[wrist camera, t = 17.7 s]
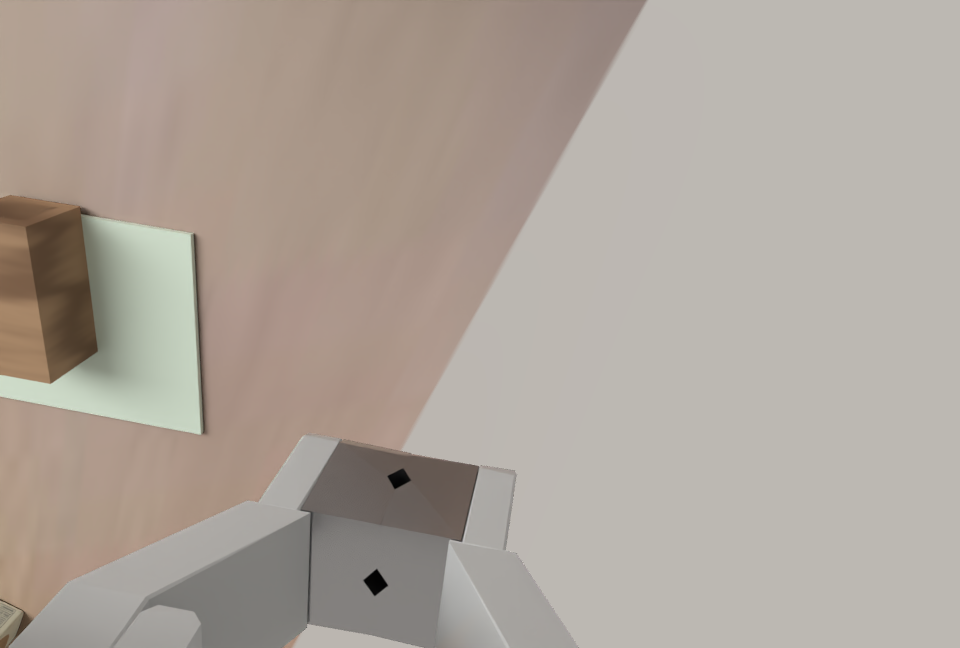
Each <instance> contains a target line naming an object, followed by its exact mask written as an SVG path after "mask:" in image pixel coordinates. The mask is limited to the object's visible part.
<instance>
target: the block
mask: <svg viewBox="0 0 960 648" xmlns="http://www.w3.org/2000/svg"><path fill="white" fill-rule="evenodd" d="M96 352H98V348H97V340H96V332H95V324H94V316H93V308H92V300H91V292H90V284H89V275H88V267H87V259H86V251H85V243H84V235H83V227H82V219H81V211H80V206H74V205H68V204H62V203H55V202H49V201H43V200H37V199H31V198H25V197H19V196H12V195H9V196H6V197H3V198H0V375H4V376H10V377H15V378H20V379H26V380H31V381H37V382H42V383H48V384H51V383H53V382H54V381H56V380H57V379H59V378H60V377H62V376H63V375H64V374H66V373H67V372H69V371H70V370H72V369H73V368H75V367H76V366H78V365H79V364H80V363H82V362H83V361H85V360H86V359H88V358H89V357H91V356H92V355H94V354H95V353H96Z"/></svg>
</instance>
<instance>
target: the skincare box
mask: <svg viewBox="0 0 960 648" xmlns="http://www.w3.org/2000/svg"><path fill="white" fill-rule="evenodd" d="M23 614H24V612H23V611H22V610H20V609H17V608H15V607H13V606H11V605H9V604H7V603H5V602H3V601H1V600H0V648H6V647H7V646H8V645H9V643H10V642H11V641H12V640H13V639H14V638H15V636H16V633H17V631H18V628H19V626H20V623H21V620H22V617H23Z"/></svg>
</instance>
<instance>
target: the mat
mask: <svg viewBox="0 0 960 648" xmlns="http://www.w3.org/2000/svg"><path fill="white" fill-rule="evenodd" d="M81 219H82V227H83V235H84V243H85V251H86V259H87V267H88V275H89V284H90V292H91V300H92V308H93V316H94V324H95V332H96V340H97V348H98V352H96V353H95V354H94V355H92V356H91V357H89V358H88V359H86V360H85V361H83V362H82V363H80V364H79V365H78V366H76V367H75V368H73V369H72V370H70V371H69V372H67V373H66V374H64V375H63V376H62V377H60V378H59V379H57V380H56V381H54V382H53V383H51V384H48V383H42V382H37V381H31V380H26V379H20V378H15V377H10V376H4V375H0V397H5V398H11V399H16V400H21V401H27V402H32V403H37V404H42V405H48V406H53V407H58V408H63V409H69V410H74V411H79V412H84V413H90V414H95V415H100V416H105V417H111V418H116V419H121V420H126V421H132V422H137V423H142V424H148V425H153V426H158V427H163V428H169V429H174V430H179V431H184V432H190V433H195V434H200V435H201V434H202V433H203V412H202V392H201V372H200V352H199V332H198V312H197V292H196V272H195V252H194V233H190V232H184V231H178V230H172V229H166V228H160V227H154V226H148V225H142V224H136V223H130V222H125V221H119V220H113V219H107V218H101V217H95V216H89V215H83V214H81Z"/></svg>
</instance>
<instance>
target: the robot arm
mask: <svg viewBox="0 0 960 648" xmlns="http://www.w3.org/2000/svg"><path fill="white" fill-rule="evenodd" d="M515 481H516V472H515V471H514V470H508V469H502V468H495V467H488V466H482V465H481V466H480V468H479V466H476V465H471V464H465V463H459V462H453V461H448V460H442V459H436V458H430V457H425V456H419V455H414V454H411V453H407V452H403V451H398V450H393V449H388V448H384V447H379V446H374V445H369V444H365V443H360V442H355V441H350V440H345V439H344V440H342V439H340V438H335V437H330V436H324V435H319V434H314V433H308V434H306V435H304V436H303V437H302V438H301V439H300V441H299V442H298V444H297V445H296V447H295V448H294V450H293V451H292V453H291V454H290V456H289V457H288V459H287V460H286V462H285V463H284V465H283V466H282V467H281V469H280V470H279V472H278V473H277V475H276V476H275V478H274V479H273V481H272V482H271V484H270V485H269V487H268V488H267V490H266V491H265V493H264V494H263V496H262V497H261V498H260V500H259V501H258V502H253V501H245V502H243V503H241V504H239V505H237V506H234V507H232V508H230V509H228V510H226V511H223V512H221V513H219V514H217V515H215V516H212V517H210V518H208V519H206V520H204V521H201V522H199V523H197V524H195V525H193V526H190V527H188V528H186V529H184V530H182V531H179V532H177V533H175V534H173V535H171V536H168V537H166V538H164V539H162V540H160V541H157V542H155V543H153V544H151V545H149V546H146V547H144V548H142V549H140V550H138V551H135V552H133V553H131V554H129V555H127V556H124V557H122V558H120V559H118V560H116V561H113V562H111V563H109V564H107V565H105V566H102V567H100V568H98V569H96V570H94V571H91V572H89V573H87V574H85V575H83V576H80V577H78V578H76V579H74V580H72V581H69V582H68V583H67V584H66V585H65V586H64V587H63V588H62V589H61V590H60V591H59V593H58V594H57V595H56V596H55V597H54V598H53V599H52V600H51V601H50V602H49V603H48V604H47V606H46V607H45V608H44V609H43V610H42V611H41V612H40V613H39V614H38V615H37V616H36V617H35V619H34V620H33V621H32V622H31V623H30V624H29V625H28V626H27V627H26V628H25V629H24V631H23V632H22V633H21V634H20V635H19V636H18V637H17V638H16V639H15V640H14V641H13V642H12V644H11V645H10V646H9V647H8V648H282V647H284V646H285V645H286V644H287V643H289V642H290V641H291V640H292V639H294V638H295V637H296V636H297V635H299V634H300V633H301V632H302V631H304V630H305V629H306V628H307V624H311V625H317V626H323V627H328V628H334V629H340V630H345V631H351V632H357V633H363V634H368V635H373V636H377V637H381V638H385V639H390V640H394V641H398V642H403V643H407V644H411V645H415V646H419V647H424V648H579V647H578V646H577V644H576V643H575V641H574V640H573V638H572V636H571V635H570V633H569V632H568V630H567V629H566V627H565V626H564V624H563V623H562V621H561V620H560V618H559V617H558V615H557V614H556V612H555V611H554V609H553V608H552V606H551V605H550V603H549V602H548V600H547V599H546V597H545V596H544V594H543V593H542V591H541V590H540V588H539V587H538V585H537V584H536V582H535V580H534V579H533V578H532V576H531V574H530V573H529V572H528V570H527V568H526V567H525V565H524V564H523V562H522V561H521V559H520V558H519V556H518V555H517V553H514V552H509V551H506V544H507V537H508V530H509V524H510V516H511V509H512V503H513V496H514V488H515Z"/></svg>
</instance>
